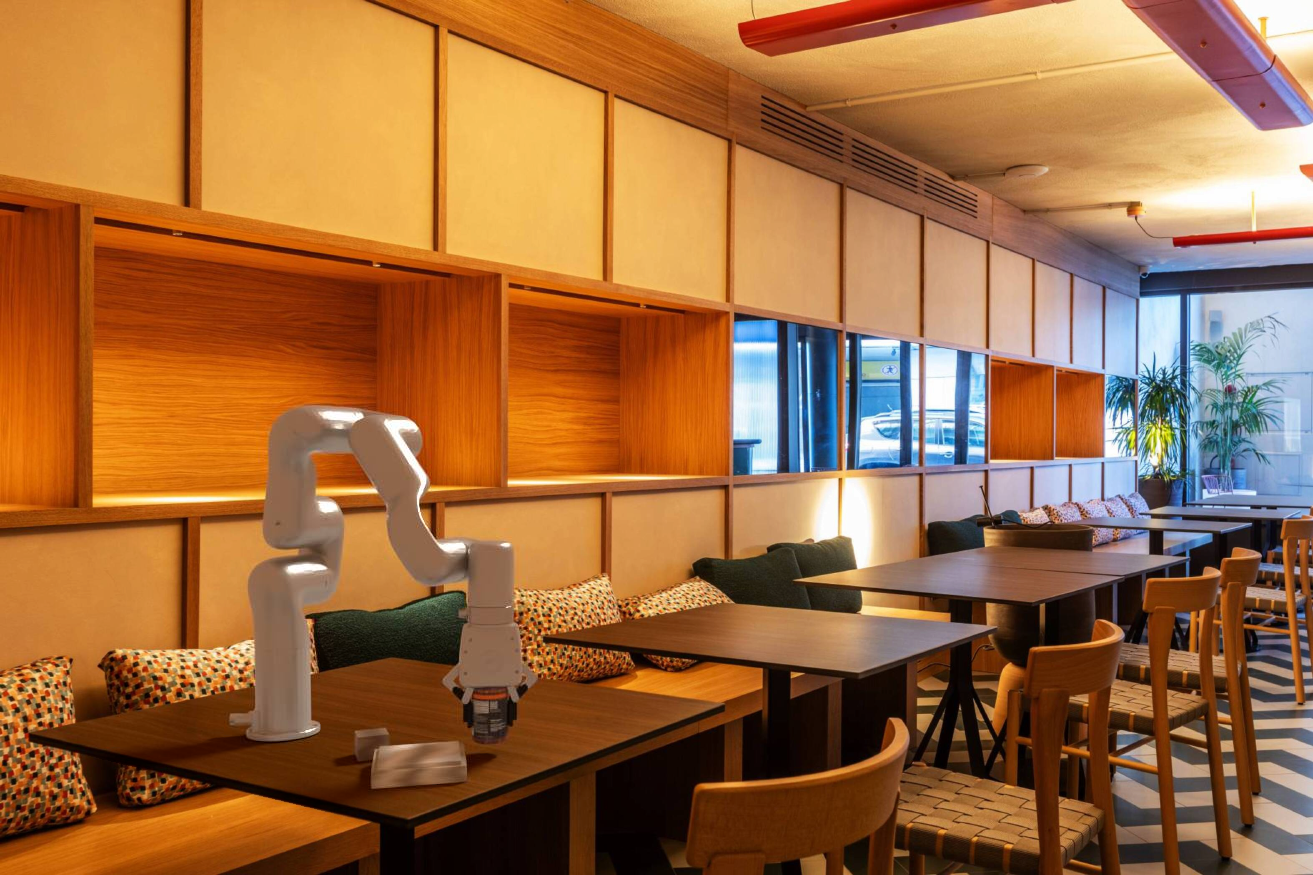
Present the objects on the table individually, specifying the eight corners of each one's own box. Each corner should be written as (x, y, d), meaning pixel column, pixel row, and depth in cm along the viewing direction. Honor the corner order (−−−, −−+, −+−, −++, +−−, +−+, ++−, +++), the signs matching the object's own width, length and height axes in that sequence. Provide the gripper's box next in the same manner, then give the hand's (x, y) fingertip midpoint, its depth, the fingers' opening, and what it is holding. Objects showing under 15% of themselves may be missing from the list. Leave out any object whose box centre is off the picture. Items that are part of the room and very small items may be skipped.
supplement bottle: (491, 734, 192) (491, 666, 192) (515, 740, 188) (516, 671, 188) (463, 741, 187) (464, 671, 187) (488, 747, 183) (489, 676, 183)
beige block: (358, 762, 185) (357, 737, 185) (354, 754, 189) (354, 730, 189) (389, 758, 186) (389, 734, 186) (385, 751, 191) (385, 727, 191)
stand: (371, 788, 169) (370, 768, 169) (375, 764, 182) (374, 745, 182) (467, 781, 172) (466, 761, 172) (463, 757, 185) (463, 739, 185)
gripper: (437, 620, 182) (436, 733, 182) (545, 618, 186) (544, 728, 186) (437, 613, 190) (436, 722, 190) (540, 611, 193) (540, 718, 193)
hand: (489, 724), depth 188 cm, fingers closed on supplement bottle, 6 cm apart
